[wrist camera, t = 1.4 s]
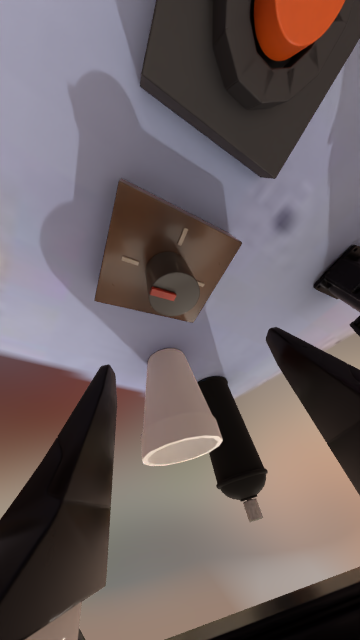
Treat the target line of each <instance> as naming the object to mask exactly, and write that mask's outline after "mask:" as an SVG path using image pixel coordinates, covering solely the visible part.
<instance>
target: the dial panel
mask: <svg viewBox="0 0 360 640" xmlns="http://www.w3.org/2000/svg"><path fill="white" fill-rule="evenodd" d="M241 244H242V242H241V241H239V240H238V239H236V238H235V237H234V236H232V235H231V234H229V233H227V232H226V231H224V230H222V229H220V228H218V227H216V226H214V225H212V224H210V223H208V222H206V221H204V220H202V219H200V218H198V217H196V216H194V215H192V214H190V213H188V212H187V211H185V210H183V209H181V208H179V207H177V206H175V205H173V204H171V203H169V202H167V201H165V200H163V199H161V198H159V197H157V196H155V195H153V194H151V193H149V192H148V191H146V190H144V189H142V188H140V187H138V186H136V185H134V184H132V183H130V182H128V181H126V180H124V179H122V178H121V179H120V180H119V183H118V188H117V193H116V198H115V203H114V207H113V212H112V217H111V222H110V227H109V232H108V237H107V242H106V246H105V251H104V256H103V261H102V266H101V271H100V276H99V281H98V286H97V290H96V295H95V301H97V302H102V303H106V304H111V305H115V306H120V307H124V308H129V309H133V310H138V311H142V312H147V313H151V314H156V315H160V316H165V315H162V314H160V313H158V312H156V311H155V310H154V309H153V308H152V306H151V304H150V302H149V297H148V290H147V283H146V275H145V270H146V266H147V264H148V262H149V261H150V259H151V258H152V257H154V256H155V255H157V254H159V253H161V252H174V253H177V254H179V255H180V256H182V257H183V258H184V260H185V261H186V263H187V265H188V266H189V268H190V270H191V272H192V273H193V275H194V277H195V279H196V281H197V282H198V284H199V288H200V295H199V299H198V301H197V303H196V304H195V306H194V307H193V308H192V309H191V310H189V311H188V312H186V313H184V314H182V315H178V316H165V317H169V318H174V319H178V320H183V321H187V322H192V323H193V322H194V321H195V319H196V317H197V316H198V314H199V312H200V311H201V309H202V308H203V306H204V304H205V303H206V301H207V300H208V298H209V296H210V295H211V293H212V291H213V290H214V288H215V287H216V285H217V283H218V282H219V280H220V278H221V277H222V275H223V274H224V272H225V270H226V269H227V267H228V266H229V264H230V262H231V261H232V259H233V257H234V256H235V254H236V253H237V251H238V249H239V248H240V246H241Z"/></svg>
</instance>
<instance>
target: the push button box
mask: <svg viewBox="0 0 360 640" xmlns="http://www.w3.org/2000/svg"><path fill="white" fill-rule="evenodd" d="M359 39H360V0H345V2H344V4H343V6H342V8H341V10H340V12H339V13H338V15H337V17H336V18H335V20H334V21H333V23H332V24H331V26H330V27H329V28H328V29H327V31H326V32H325V33H324V34H323V35H322V36H321V37H320V38H319V39H318V40H316V41H315V42H314V43H312V44H310V45H309V46H307V47H306V48H304V49H303V50H301V51H300V52H298V53H297V54H295V55H294V56H292V57H290V58H289V59H287V60H284V61H274V60H272V59H270V58H268V57H267V56H266V55H265V54H264V52H263V51H262V49H261V47H260V45H259V42H258V40H257V36H256V31H255V25H254V0H156V5H155V10H154V15H153V19H152V24H151V29H150V34H149V39H148V44H147V49H146V53H145V58H144V63H143V68H142V73H141V81H140V86H141V88H143V89H144V90H145V91H147V92H148V93H149V94H151V95H152V96H153V97H155V98H156V99H157V100H159V101H160V102H161V103H163V104H164V105H165V106H167V107H168V108H169V109H171V110H172V111H173V112H175V113H176V114H177V115H179V116H180V117H181V118H183V119H184V120H185V121H187V122H188V123H189V124H191V125H192V126H193V127H195V128H196V129H197V130H199V131H200V132H201V133H203V134H204V135H205V136H207V137H208V138H209V139H211V140H212V141H213V142H215V143H216V144H217V145H219V146H220V147H221V148H223V149H224V150H225V151H227V152H228V153H229V154H231V155H232V156H233V157H235V158H236V159H237V160H239V161H240V162H241V163H243V164H244V165H245V166H247V167H248V168H249V169H251V170H252V171H253V172H255V173H256V174H257V175H259V176H260V177H264V178H273V179H275V178H276V177H277V175H278V173H279V172H280V170H281V168H282V167H283V165H284V163H285V162H286V160H287V158H288V157H289V155H290V153H291V152H292V150H293V148H294V147H295V145H296V143H297V142H298V140H299V138H300V137H301V135H302V133H303V132H304V130H305V128H306V127H307V125H308V123H309V122H310V120H311V118H312V117H313V115H314V113H315V112H316V110H317V108H318V107H319V105H320V103H321V102H322V100H323V98H324V97H325V95H326V93H327V92H328V90H329V88H330V87H331V85H332V84H333V82H334V80H335V79H336V77H337V75H338V74H339V72H340V70H341V69H342V67H343V65H344V64H345V62H346V60H347V59H348V57H349V55H350V54H351V52H352V50H353V49H354V47H355V45H356V44H357V42H358V40H359Z"/></svg>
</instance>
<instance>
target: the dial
mask: <svg viewBox="0 0 360 640" xmlns="http://www.w3.org/2000/svg"><path fill="white" fill-rule="evenodd" d="M145 275H146V283H147V290H148V297H149V302H150V304H151V306H152V308H153V309H154V310H155V311H156V312H158V313H160V314H162V315H165V316H178V315H182V314H184V313H186V312H188V311H189V310H191V309H192V308H193V307H194V306H195V304H196V303H197V301H198V299H199V295H200V288H199V284H198V282H197V281H196V279H195V277H194V275H193V273H192V272H191V270H190V268H189V266H188V265H187V263H186V261H185V260H184V258H183V257H182V256H180V255H179V254H177V253H174V252H161V253H159V254H157V255H155V256H154V257H152V258H151V259H150V261H149V262H148V264H147V266H146V270H145Z"/></svg>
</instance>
